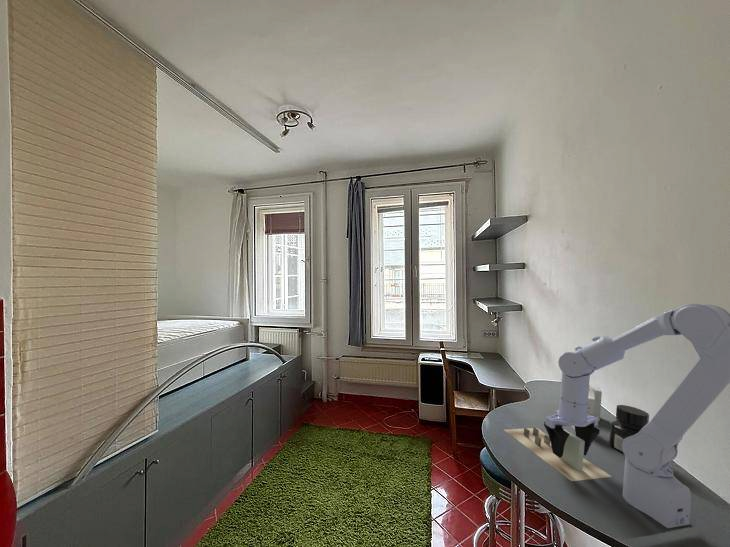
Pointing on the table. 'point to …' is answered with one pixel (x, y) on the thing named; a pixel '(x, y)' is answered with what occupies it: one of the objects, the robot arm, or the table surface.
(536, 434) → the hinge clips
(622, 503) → the table surface
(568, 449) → the pale green flat block
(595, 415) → the small box
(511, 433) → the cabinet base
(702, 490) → the table surface
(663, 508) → the robot arm
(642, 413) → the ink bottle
